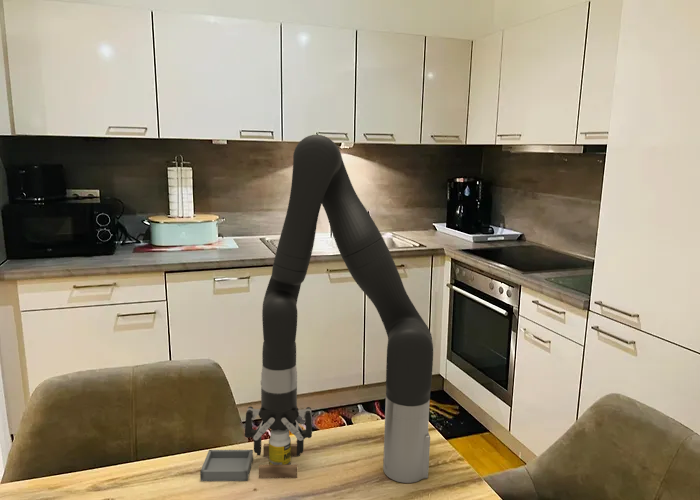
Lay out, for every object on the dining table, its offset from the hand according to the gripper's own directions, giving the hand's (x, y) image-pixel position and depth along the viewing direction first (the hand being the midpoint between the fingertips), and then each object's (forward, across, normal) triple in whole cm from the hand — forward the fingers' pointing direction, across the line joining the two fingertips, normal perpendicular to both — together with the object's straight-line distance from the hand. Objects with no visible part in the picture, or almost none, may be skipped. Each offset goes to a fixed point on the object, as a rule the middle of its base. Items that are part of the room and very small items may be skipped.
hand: (278, 453), depth 113 cm
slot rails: (+3, 0, 0) cm, 3 cm away
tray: (+3, +11, +2) cm, 11 cm away
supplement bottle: (+3, 0, 0) cm, 3 cm away
